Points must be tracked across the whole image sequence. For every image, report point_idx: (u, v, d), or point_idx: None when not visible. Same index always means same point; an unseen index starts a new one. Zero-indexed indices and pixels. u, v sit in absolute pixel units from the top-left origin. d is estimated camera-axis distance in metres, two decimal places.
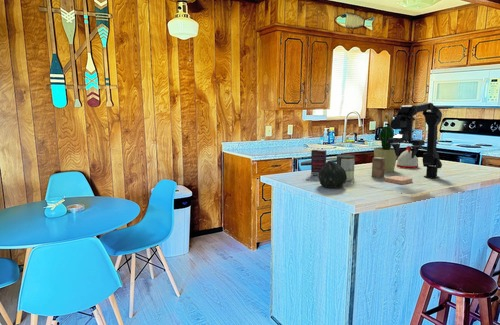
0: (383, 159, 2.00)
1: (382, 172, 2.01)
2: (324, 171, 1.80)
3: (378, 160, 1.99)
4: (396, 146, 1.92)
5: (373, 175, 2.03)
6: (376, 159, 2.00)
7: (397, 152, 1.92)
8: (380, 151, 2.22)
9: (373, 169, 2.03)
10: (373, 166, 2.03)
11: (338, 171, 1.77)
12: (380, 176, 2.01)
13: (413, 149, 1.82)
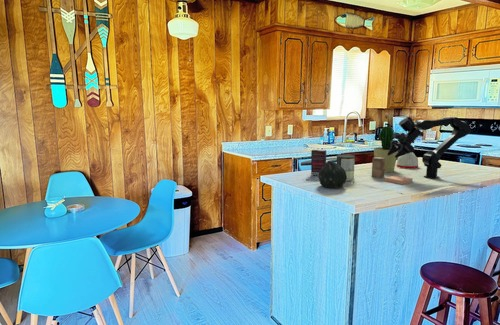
0: (383, 159, 2.00)
1: (382, 172, 2.01)
2: (324, 171, 1.80)
3: (378, 160, 1.99)
4: (393, 147, 2.06)
5: (373, 175, 2.03)
6: (376, 159, 2.00)
7: (390, 152, 2.06)
8: (380, 151, 2.22)
9: (373, 169, 2.03)
10: (373, 166, 2.03)
11: (338, 171, 1.77)
12: (380, 176, 2.01)
13: (401, 149, 1.96)
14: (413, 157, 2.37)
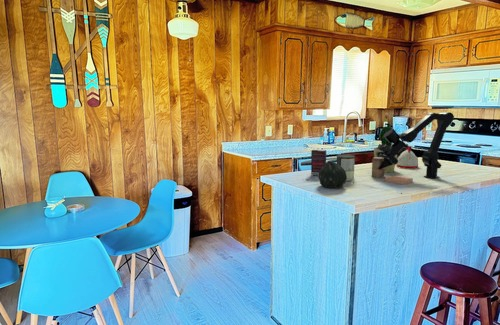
0: (383, 159, 2.00)
1: (382, 172, 2.01)
2: (324, 171, 1.80)
3: (378, 160, 1.99)
4: None
5: (373, 175, 2.03)
6: (376, 159, 2.00)
7: None
8: (380, 151, 2.22)
9: (373, 169, 2.03)
10: (373, 166, 2.03)
11: (338, 171, 1.77)
12: (380, 176, 2.01)
13: (384, 161, 1.97)
14: (413, 157, 2.37)
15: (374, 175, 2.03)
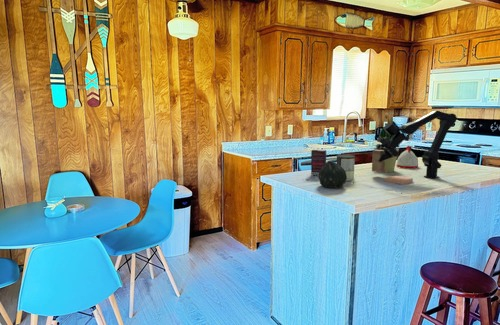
0: (383, 151, 2.00)
1: (382, 164, 2.01)
2: (324, 171, 1.80)
3: (378, 152, 1.99)
4: None
5: (373, 168, 2.02)
6: (376, 151, 2.00)
7: None
8: None
9: (373, 162, 2.02)
10: (373, 159, 2.02)
11: (338, 171, 1.77)
12: (380, 168, 2.00)
13: (384, 153, 1.97)
14: (413, 157, 2.37)
15: (374, 168, 2.02)
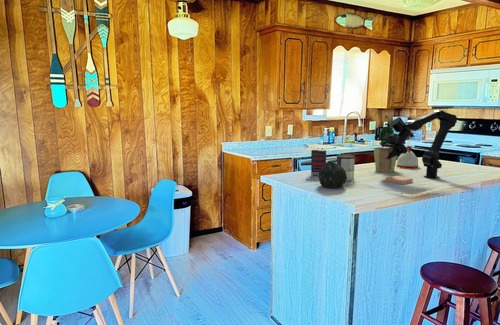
0: (391, 148, 1.94)
1: (390, 162, 1.95)
2: (324, 171, 1.80)
3: (386, 150, 1.93)
4: None
5: (381, 165, 1.96)
6: (384, 149, 1.93)
7: None
8: None
9: (380, 159, 1.96)
10: (380, 156, 1.96)
11: (338, 171, 1.77)
12: (388, 166, 1.94)
13: (393, 150, 1.91)
14: (413, 157, 2.37)
15: (382, 165, 1.96)
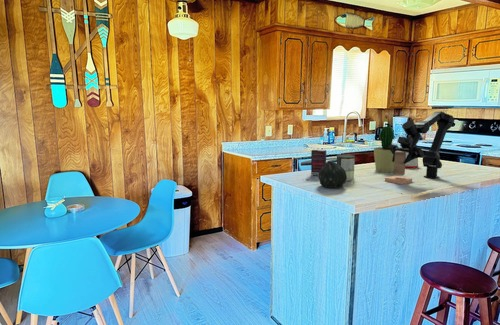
0: (405, 152, 1.87)
1: (404, 166, 1.88)
2: (324, 171, 1.80)
3: (403, 154, 1.85)
4: None
5: (396, 170, 1.88)
6: (400, 153, 1.85)
7: (394, 158, 1.91)
8: (380, 151, 2.22)
9: (396, 164, 1.87)
10: (396, 161, 1.87)
11: (338, 171, 1.77)
12: (404, 171, 1.87)
13: (409, 154, 1.84)
14: None
15: (397, 170, 1.87)
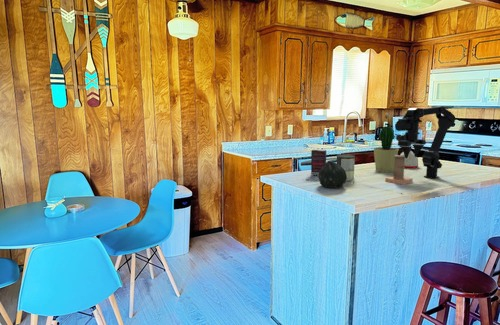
0: None
1: None
2: (324, 171, 1.80)
3: (403, 158, 1.85)
4: (415, 147, 2.01)
5: (396, 175, 1.88)
6: (400, 157, 1.85)
7: (415, 153, 2.01)
8: (380, 151, 2.22)
9: (396, 168, 1.87)
10: (396, 165, 1.87)
11: (338, 171, 1.77)
12: (403, 175, 1.87)
13: None
14: (413, 157, 2.37)
15: (397, 175, 1.87)
